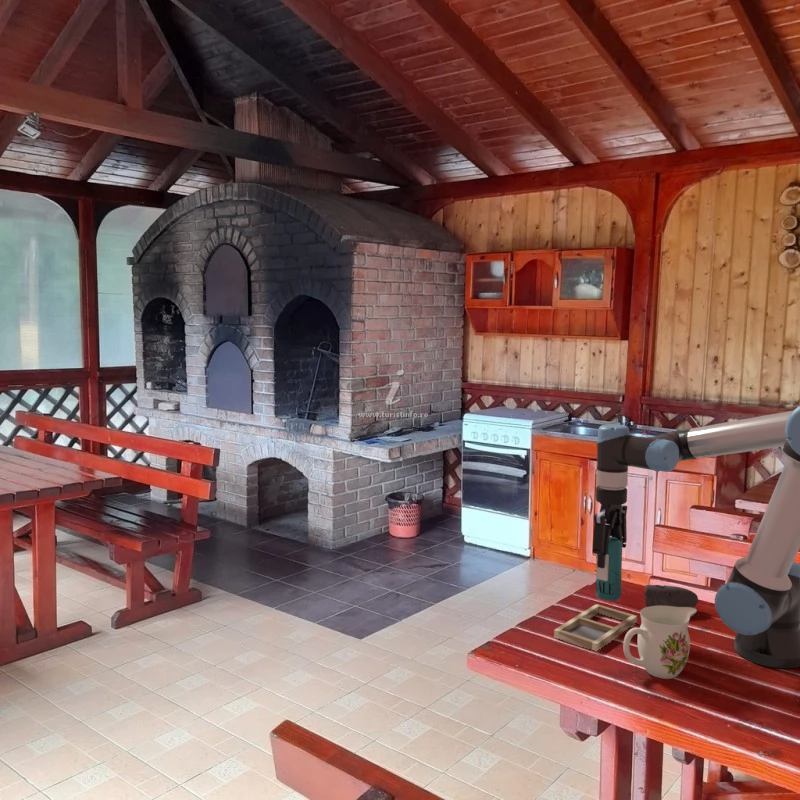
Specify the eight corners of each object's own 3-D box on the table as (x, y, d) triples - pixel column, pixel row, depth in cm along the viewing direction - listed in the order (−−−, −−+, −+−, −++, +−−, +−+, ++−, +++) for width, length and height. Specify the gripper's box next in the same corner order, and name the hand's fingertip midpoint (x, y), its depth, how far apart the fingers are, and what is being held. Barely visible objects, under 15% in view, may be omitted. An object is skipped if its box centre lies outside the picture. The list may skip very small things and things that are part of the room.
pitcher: (608, 666, 169) (611, 608, 168) (676, 655, 174) (680, 599, 173) (637, 690, 159) (640, 628, 157) (708, 678, 164) (712, 618, 162)
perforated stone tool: (694, 607, 203) (695, 582, 202) (701, 615, 197) (703, 589, 196) (638, 606, 203) (639, 582, 202) (644, 614, 198) (645, 589, 197)
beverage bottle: (618, 597, 193) (621, 522, 191) (623, 607, 187) (626, 529, 184) (593, 596, 194) (595, 521, 192) (597, 606, 187) (599, 529, 185)
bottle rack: (596, 611, 199) (596, 603, 199) (636, 623, 192) (637, 615, 192) (553, 637, 184) (554, 629, 183) (596, 652, 176) (596, 644, 176)
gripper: (615, 477, 196) (612, 562, 199) (578, 491, 182) (576, 582, 185) (642, 482, 191) (639, 569, 194) (607, 496, 177) (604, 590, 180)
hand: (609, 575), depth 190 cm, fingers closed on beverage bottle, 6 cm apart
